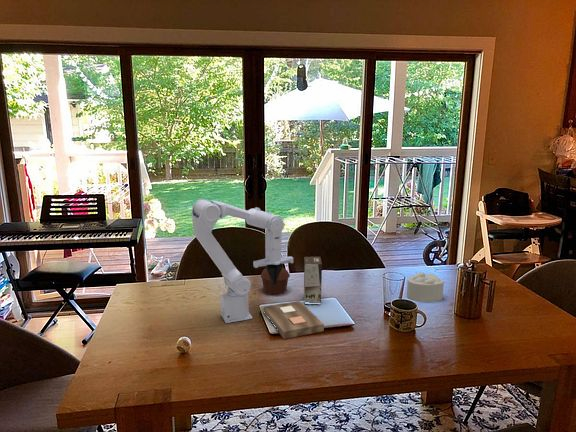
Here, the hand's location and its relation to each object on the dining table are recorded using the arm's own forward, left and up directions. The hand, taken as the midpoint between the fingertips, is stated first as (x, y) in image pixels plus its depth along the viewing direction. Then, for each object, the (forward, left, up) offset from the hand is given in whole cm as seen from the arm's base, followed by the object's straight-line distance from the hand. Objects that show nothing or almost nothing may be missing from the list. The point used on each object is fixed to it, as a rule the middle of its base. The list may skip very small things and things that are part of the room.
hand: (273, 283), depth 163 cm
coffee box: (+16, +1, -10) cm, 19 cm away
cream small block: (+2, -8, -9) cm, 13 cm away
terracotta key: (+2, -18, -9) cm, 20 cm away
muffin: (+6, +15, -10) cm, 19 cm away
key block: (+2, -13, -9) cm, 16 cm away
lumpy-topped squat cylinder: (+57, -12, -10) cm, 59 cm away
